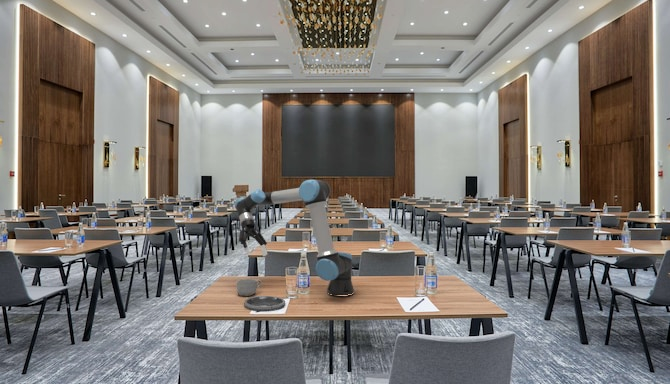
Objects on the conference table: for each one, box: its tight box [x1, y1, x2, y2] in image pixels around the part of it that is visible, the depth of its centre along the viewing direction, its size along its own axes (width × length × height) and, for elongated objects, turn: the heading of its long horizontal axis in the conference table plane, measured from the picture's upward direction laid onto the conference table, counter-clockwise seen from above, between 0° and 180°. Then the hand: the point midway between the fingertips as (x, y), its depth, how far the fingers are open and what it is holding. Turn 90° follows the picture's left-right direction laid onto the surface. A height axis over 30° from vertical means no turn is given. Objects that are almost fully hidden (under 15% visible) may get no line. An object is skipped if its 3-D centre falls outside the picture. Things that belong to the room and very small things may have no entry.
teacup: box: [235, 278, 262, 297], centre depth 225 cm, size 14×11×8 cm
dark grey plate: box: [243, 295, 286, 312], centre depth 205 cm, size 20×20×2 cm
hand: (257, 254), depth 231 cm, fingers open, 13 cm apart
